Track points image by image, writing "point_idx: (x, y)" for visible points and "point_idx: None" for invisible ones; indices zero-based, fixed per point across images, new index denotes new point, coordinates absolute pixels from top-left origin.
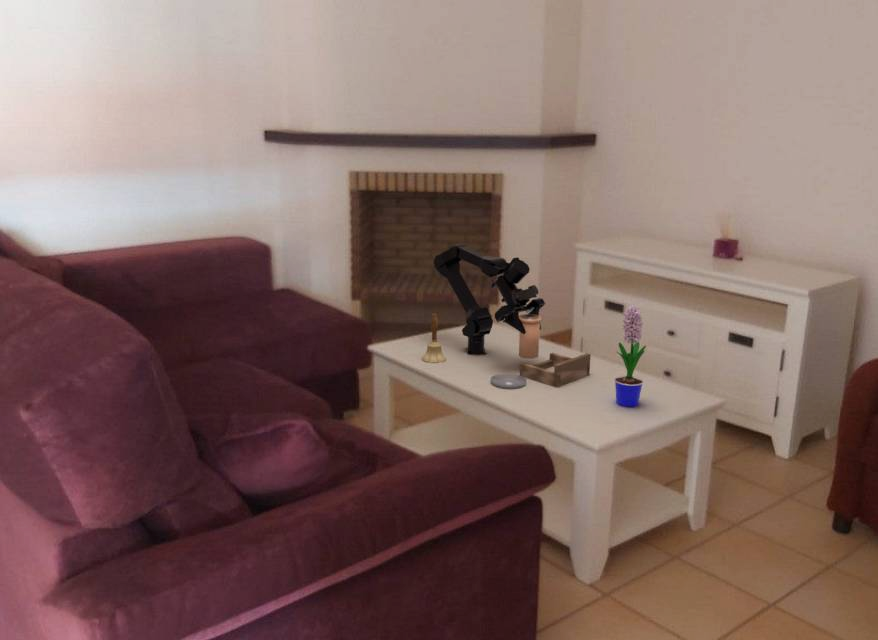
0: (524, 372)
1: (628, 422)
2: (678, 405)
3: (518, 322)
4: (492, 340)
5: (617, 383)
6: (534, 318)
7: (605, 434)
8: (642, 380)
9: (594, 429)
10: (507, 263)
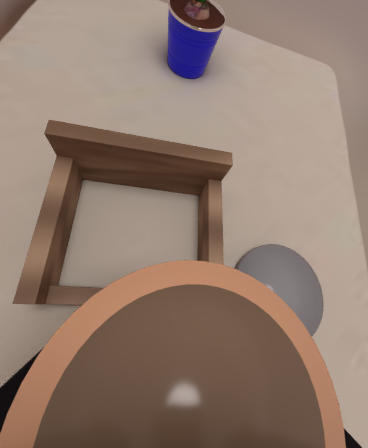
0: None
1: (251, 51)
2: (135, 8)
3: (350, 438)
4: None
5: (222, 28)
6: (215, 322)
7: (304, 65)
8: None
9: (304, 78)
10: None
